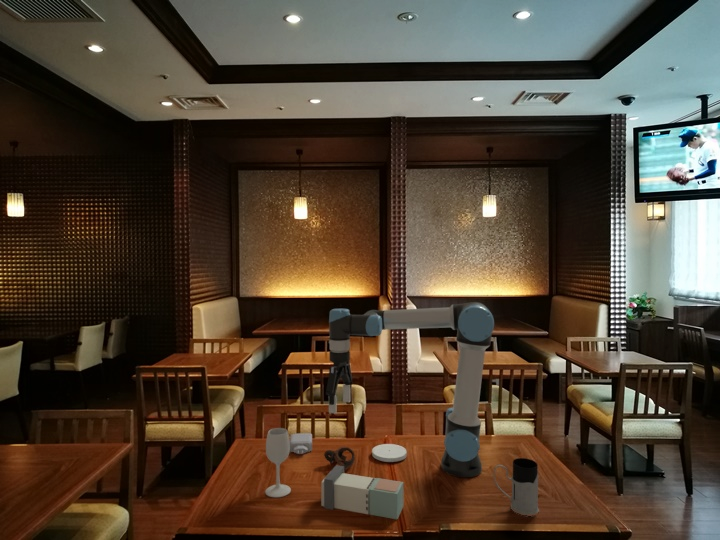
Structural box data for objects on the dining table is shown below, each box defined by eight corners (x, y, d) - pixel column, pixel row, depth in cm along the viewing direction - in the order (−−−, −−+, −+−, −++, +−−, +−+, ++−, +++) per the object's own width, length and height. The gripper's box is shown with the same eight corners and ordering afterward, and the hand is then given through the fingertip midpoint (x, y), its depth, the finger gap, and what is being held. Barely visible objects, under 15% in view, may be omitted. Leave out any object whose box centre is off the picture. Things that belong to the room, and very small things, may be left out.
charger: (288, 459, 189) (290, 444, 204) (311, 458, 190) (312, 443, 205) (288, 447, 189) (290, 433, 204) (311, 446, 190) (312, 432, 205)
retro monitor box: (403, 506, 153) (403, 481, 153) (397, 519, 145) (397, 493, 145) (376, 501, 156) (376, 477, 156) (369, 514, 148) (369, 488, 148)
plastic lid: (410, 463, 186) (410, 456, 186) (375, 465, 184) (375, 459, 184) (402, 448, 200) (402, 442, 200) (369, 450, 197) (369, 445, 197)
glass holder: (541, 517, 147) (542, 470, 146) (494, 513, 149) (495, 466, 149) (536, 503, 155) (536, 458, 155) (491, 499, 158) (492, 455, 157)
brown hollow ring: (352, 460, 189) (357, 446, 185) (350, 481, 180) (355, 467, 176) (323, 453, 188) (327, 439, 184) (319, 473, 180) (324, 459, 176)
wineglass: (269, 500, 157) (269, 438, 157) (262, 488, 165) (261, 429, 164) (294, 494, 161) (294, 433, 161) (286, 483, 169) (285, 425, 168)
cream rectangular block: (376, 500, 157) (376, 471, 157) (367, 516, 147) (367, 485, 147) (332, 492, 162) (332, 464, 162) (319, 507, 152) (319, 478, 152)
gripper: (342, 343, 188) (343, 396, 189) (315, 356, 165) (316, 416, 165) (360, 345, 185) (360, 398, 186) (335, 358, 162) (336, 419, 163)
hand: (339, 407), depth 176 cm, fingers open, 13 cm apart
